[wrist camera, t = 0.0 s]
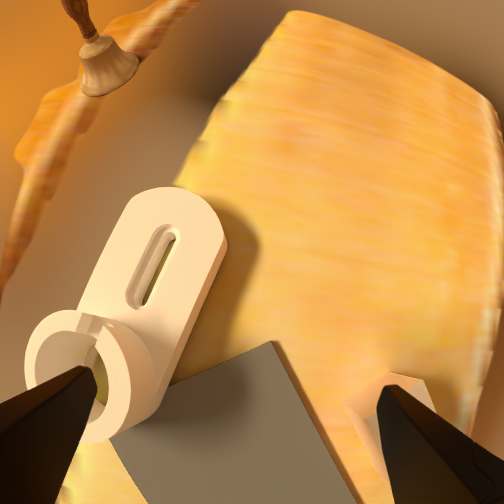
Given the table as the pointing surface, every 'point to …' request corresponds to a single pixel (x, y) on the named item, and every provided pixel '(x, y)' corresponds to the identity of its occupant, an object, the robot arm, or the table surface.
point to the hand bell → (100, 55)
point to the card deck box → (365, 414)
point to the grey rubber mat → (232, 441)
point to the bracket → (135, 307)
